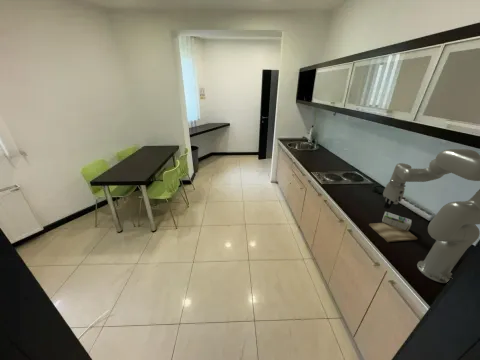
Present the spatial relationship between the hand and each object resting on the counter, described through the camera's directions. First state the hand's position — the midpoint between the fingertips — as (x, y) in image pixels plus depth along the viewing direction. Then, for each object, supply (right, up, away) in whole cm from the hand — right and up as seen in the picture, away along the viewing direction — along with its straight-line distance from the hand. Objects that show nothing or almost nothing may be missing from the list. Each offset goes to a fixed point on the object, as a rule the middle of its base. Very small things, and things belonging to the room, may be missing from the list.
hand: (386, 207), depth 130 cm
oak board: (+1, -15, -3) cm, 16 cm away
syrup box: (+1, -7, +5) cm, 8 cm away
